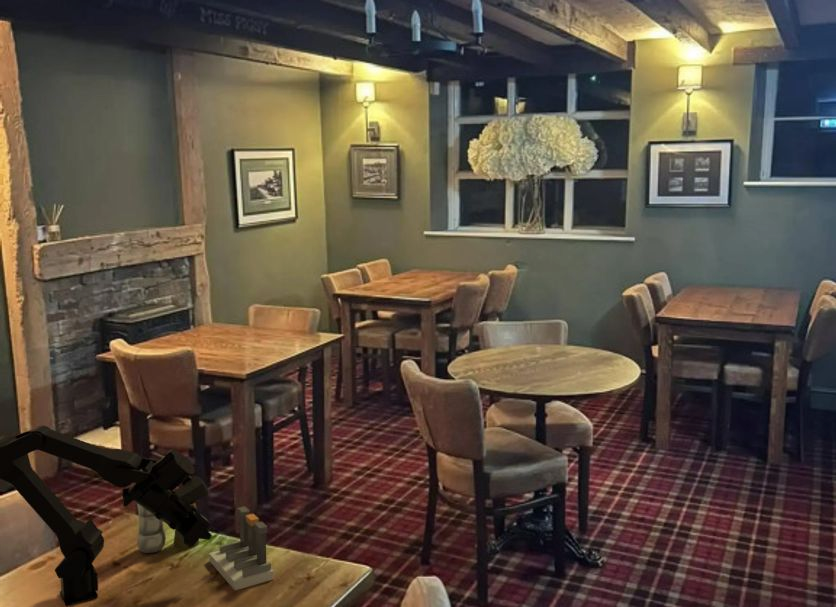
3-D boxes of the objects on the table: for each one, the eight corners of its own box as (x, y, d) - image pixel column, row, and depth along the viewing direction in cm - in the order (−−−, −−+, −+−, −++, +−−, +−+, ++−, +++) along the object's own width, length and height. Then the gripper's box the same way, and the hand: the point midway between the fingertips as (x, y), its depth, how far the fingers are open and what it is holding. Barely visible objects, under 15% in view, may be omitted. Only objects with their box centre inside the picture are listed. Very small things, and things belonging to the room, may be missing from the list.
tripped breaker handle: (252, 560, 181) (251, 520, 180) (246, 555, 184) (245, 515, 183) (259, 558, 182) (258, 518, 181) (254, 553, 185) (253, 513, 184)
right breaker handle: (260, 569, 177) (259, 528, 176) (255, 564, 180) (254, 523, 178) (268, 567, 178) (267, 526, 177) (262, 562, 181) (261, 521, 179)
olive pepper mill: (203, 538, 198) (201, 496, 196) (193, 549, 192) (192, 506, 190) (179, 537, 198) (177, 495, 197) (169, 548, 192) (167, 504, 191)
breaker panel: (234, 590, 173) (234, 575, 172) (209, 561, 186) (209, 547, 186) (273, 579, 178) (273, 564, 177) (246, 551, 191) (245, 537, 190)
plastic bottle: (131, 554, 189) (127, 473, 186) (149, 542, 196) (145, 463, 193) (155, 558, 187) (151, 476, 184) (172, 545, 194) (168, 466, 191)
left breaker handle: (243, 552, 186) (242, 512, 184) (238, 547, 188) (237, 507, 187) (251, 550, 187) (250, 510, 185) (245, 545, 189) (244, 506, 188)
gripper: (199, 483, 164) (250, 522, 172) (170, 456, 179) (219, 493, 187) (161, 528, 161) (216, 566, 168) (135, 497, 176) (186, 533, 184)
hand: (210, 537), depth 177 cm, fingers closed
